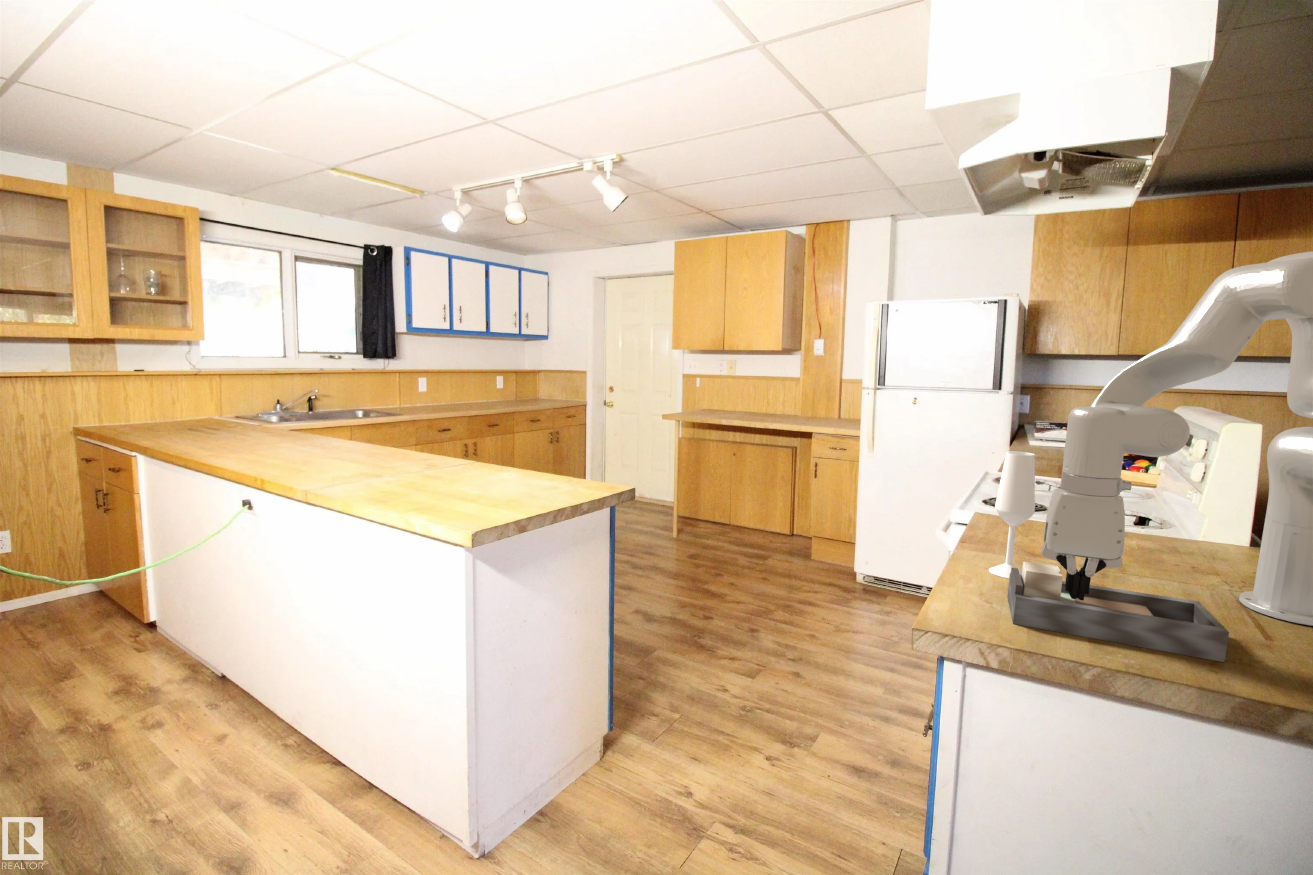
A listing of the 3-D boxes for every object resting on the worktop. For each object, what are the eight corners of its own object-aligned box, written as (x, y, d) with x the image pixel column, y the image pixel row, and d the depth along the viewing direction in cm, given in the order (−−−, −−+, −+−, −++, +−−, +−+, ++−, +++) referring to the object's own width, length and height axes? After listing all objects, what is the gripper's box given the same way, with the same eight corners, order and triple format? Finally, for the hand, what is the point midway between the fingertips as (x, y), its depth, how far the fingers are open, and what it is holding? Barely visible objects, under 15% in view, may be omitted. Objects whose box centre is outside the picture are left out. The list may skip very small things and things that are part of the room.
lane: (1194, 628, 97) (1200, 592, 96) (1224, 662, 86) (1230, 622, 85) (1007, 597, 108) (1010, 564, 107) (1012, 623, 97) (1016, 587, 96)
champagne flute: (992, 564, 125) (1003, 449, 121) (1030, 572, 120) (1043, 453, 117) (985, 573, 120) (997, 453, 116) (1024, 582, 115) (1038, 457, 112)
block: (1054, 594, 102) (1058, 566, 101) (1059, 606, 97) (1062, 576, 96) (1020, 589, 104) (1023, 561, 103) (1023, 600, 99) (1026, 570, 99)
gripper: (1141, 486, 96) (1126, 597, 98) (1031, 476, 102) (1020, 580, 105) (1156, 496, 89) (1139, 614, 92) (1036, 484, 95) (1024, 596, 98)
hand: (1075, 596), depth 98 cm, fingers closed
